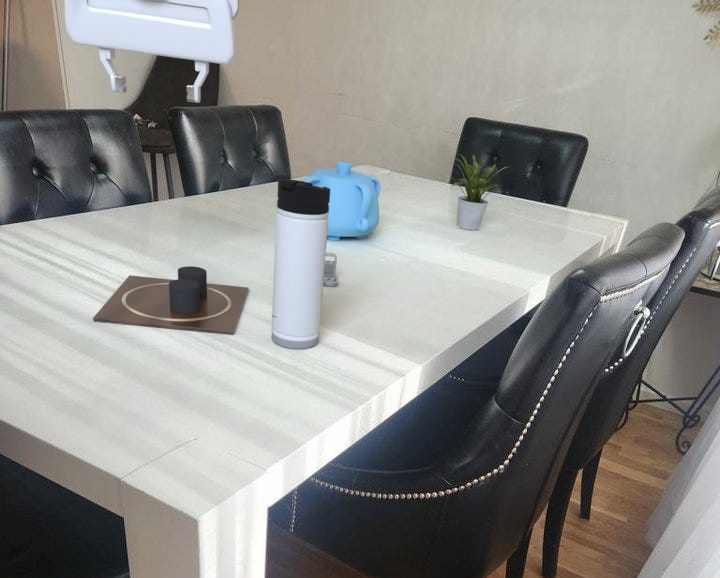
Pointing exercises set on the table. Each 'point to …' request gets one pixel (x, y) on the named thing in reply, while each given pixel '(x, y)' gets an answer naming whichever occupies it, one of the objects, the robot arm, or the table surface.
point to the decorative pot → (349, 200)
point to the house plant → (473, 195)
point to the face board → (152, 308)
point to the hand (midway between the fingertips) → (156, 97)
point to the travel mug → (299, 263)
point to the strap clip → (330, 271)
